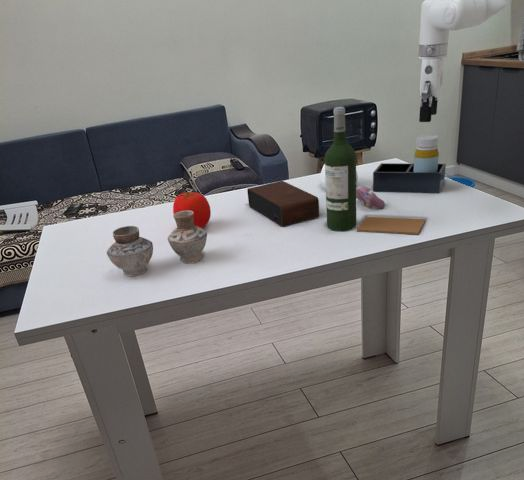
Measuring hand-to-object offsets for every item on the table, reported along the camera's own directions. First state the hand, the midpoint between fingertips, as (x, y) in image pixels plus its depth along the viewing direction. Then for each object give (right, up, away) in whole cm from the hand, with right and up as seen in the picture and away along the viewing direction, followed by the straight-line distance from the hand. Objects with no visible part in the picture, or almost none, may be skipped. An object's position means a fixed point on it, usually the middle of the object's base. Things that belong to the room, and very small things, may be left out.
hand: (427, 118), depth 156 cm
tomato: (-68, -32, 0) cm, 75 cm away
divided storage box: (-2, -16, +13) cm, 21 cm away
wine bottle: (-27, -34, -10) cm, 44 cm away
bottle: (+2, -17, +11) cm, 20 cm away
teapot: (-23, -14, +20) cm, 34 cm away
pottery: (-74, -46, -20) cm, 89 cm away
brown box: (-42, -26, +5) cm, 50 cm away
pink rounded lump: (-17, -25, +2) cm, 31 cm away
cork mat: (-14, -35, -14) cm, 40 cm away
